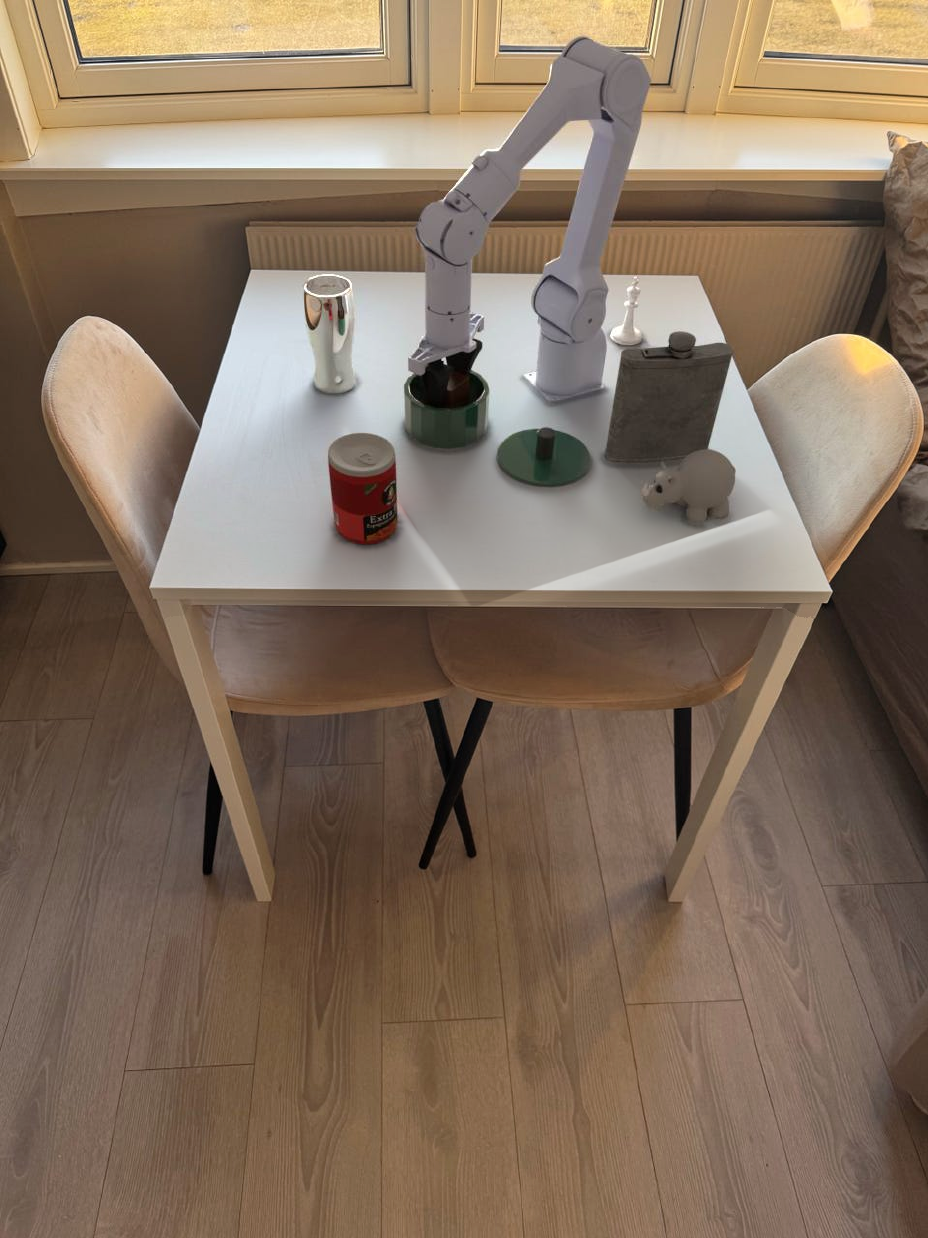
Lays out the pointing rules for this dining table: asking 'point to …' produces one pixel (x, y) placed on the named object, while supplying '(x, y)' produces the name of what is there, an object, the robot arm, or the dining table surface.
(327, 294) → the beer glass
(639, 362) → the flask
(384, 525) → the canned food
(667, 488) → the toy rhinoceros
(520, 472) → the lid
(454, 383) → the block
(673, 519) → the dining table surface
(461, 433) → the pot
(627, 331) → the chess piece
